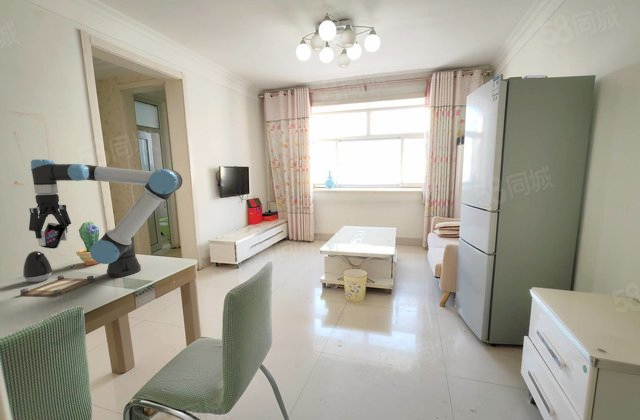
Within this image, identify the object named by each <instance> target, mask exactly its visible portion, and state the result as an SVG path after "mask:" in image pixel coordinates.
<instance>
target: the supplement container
mask: <svg viewBox="0 0 640 420" xmlns="http://www.w3.org/2000/svg"><path fill="white" fill-rule="evenodd" d="M66 228H67V229H68V227H66V226H64V225H60V224H59V223H54V222H48V223H47V225H46V227H45V229H44V230H43V231H44V235H45V242H46V245H45V246H40V247H42V248H45V249H52V250H53V249H58V248H59V246H60V243H61V241H62V240H61V239H62V237H63V235H64V232H65V230H66Z"/></svg>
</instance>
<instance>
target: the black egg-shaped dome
mask: <svg viewBox="0 0 640 420" xmlns="http://www.w3.org/2000/svg"><path fill="white" fill-rule="evenodd" d="M52 272H53V268H52V264H51V263H50V261H49V259H48V258H47V256H46V255H45V253H43V252H42V251H37V250H35V251H31V252H29V253H28V254H27V256H26V258H25V260H24V264H23V271H22V276H23V277H24V279H25V280H26V281H27V282H29V283H41V282H43V281H47V280H48V279H49V278H50V277H51V275H52Z"/></svg>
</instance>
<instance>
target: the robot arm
mask: <svg viewBox="0 0 640 420" xmlns="http://www.w3.org/2000/svg"><path fill="white" fill-rule="evenodd" d="M30 171H31V176H32V180H33V181H32V182H33V190H34V194H36V195H35V198H34V199H35V202H36V204H37V206H36V207H30V208H29V214H30V215H29V226H28V231H29V232H30V231H31V232H34V234H35V238H36V240H37V244H38V246H40V247H41V246H45V245H46V242H45V235H44V231H45V230H43V228H44V224H45V222H46V219H47V218H48V216H49V215H52V216H53V217H54V219H55V220H56V221H57V222H58V223H57V224H60V225H64V226H66V227H67V228H66V230H65V232H64V235H63V237H62V239H61V241H64V242H65V241H68V234H67V233H68V227H69V226H70V225H71V224H72V222H71V218H70V216H69V213H68V211H67V205H66V204H60V203H59V202H60V197H59V194H57V193H59V190H58V183H57V182H58V181H59V182H61V181H62V182H63V181H65V182H66V181H67V182H69V181H70V182H71V181H76V182H80V181H92V182H96V181H97V182H107V183H117V184H129V185H138V186H139V185H140V186H144V191H143V193H142V194H141V195H140V196H139V198H138V199H137V200H136V202H134V203H133V205H132V206H131V207H130V208H129V210H128V211H127V212H126V213H125V215H124V216H122V218H121V219H120V220H119V222H117V224H116V225H115V227H113V229H108V230H107V231H106V232H105V233H104V234H103V235H102V236H101V238H100V239H98V240H99V241H97V242H95V243H94V244H93V245H92V247H91V249H90V254H91V257H92V258H93V259H94V260H95V261H96V262H98V264H101V265H102V264H103V265H107V269H106V277H108V278H121V277H126V276H131V275H135V274H137V273H139V272H140V271H141V270H142V265H141V264H140V263H139V261H138V259H137V255H136V248H135V234H136V233H137V232H138V231H139V230H140V228H141V227H143V225H144V224H145V223H146V221H147V220H148V218H149V217H151V215H152V214H153V213H154V212H155V210H156V209H157V208H158V207H159V206H160V204H161V203H162V202H165V201H168V199H170V197H171V196H172V194H174V193H175V191H177V190H179V189H181V187H182V185H183V178H182V176H181V174H180V173H179V171H176V170H174V169H167V168H159V169H155V170H153V171H151V170H141V169H130V168H120V167H110V166H99V165H92V164H82V163H62V164H61V163H60V164H59V163H55V162H54V160H53V159H39V158H38V159H36V158H35V159H32V160H31V161H30Z"/></svg>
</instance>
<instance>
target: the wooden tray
mask: <svg viewBox="0 0 640 420" xmlns="http://www.w3.org/2000/svg"><path fill="white" fill-rule="evenodd" d="M56 278H57V279H56V280H53V281H50V282H48V283H45V284H42V285H40V286H36V287H34V288H31V289H29V288H27V287H26V288H23V289H20V290H19V291H20V297H22V296H23V297H56V296H58V297H60V296H63V295H65V294H67V293H69V292H72V291H73V290H76V289H79V288H81V287H83V286H86V285H88V284H91V283H92V282H94V281H95V278H94V275H89V276H87V278H80V277H79V278H75V277H73V278H72V277H70V278H69V277H65V275H64V274H63V275H62V274H60V275H57V277H56ZM64 293H65V294H64ZM62 294H63V295H62Z"/></svg>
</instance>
